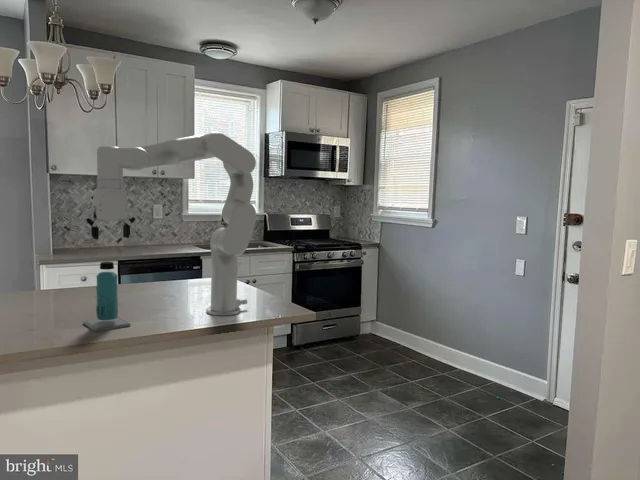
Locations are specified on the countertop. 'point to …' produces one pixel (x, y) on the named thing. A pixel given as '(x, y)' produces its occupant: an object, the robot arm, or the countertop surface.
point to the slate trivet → (106, 324)
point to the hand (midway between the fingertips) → (111, 238)
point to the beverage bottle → (106, 293)
